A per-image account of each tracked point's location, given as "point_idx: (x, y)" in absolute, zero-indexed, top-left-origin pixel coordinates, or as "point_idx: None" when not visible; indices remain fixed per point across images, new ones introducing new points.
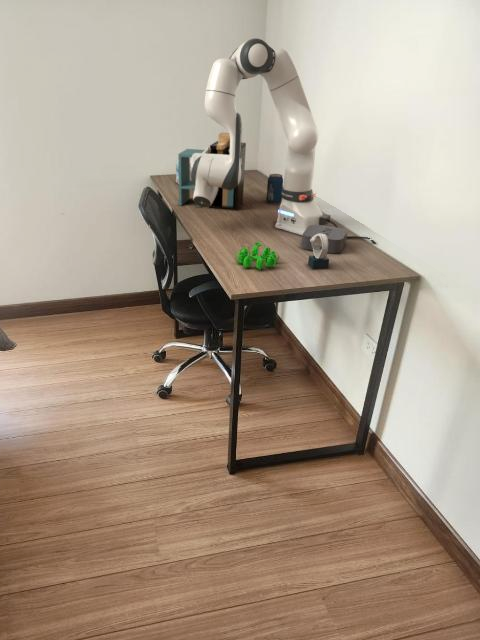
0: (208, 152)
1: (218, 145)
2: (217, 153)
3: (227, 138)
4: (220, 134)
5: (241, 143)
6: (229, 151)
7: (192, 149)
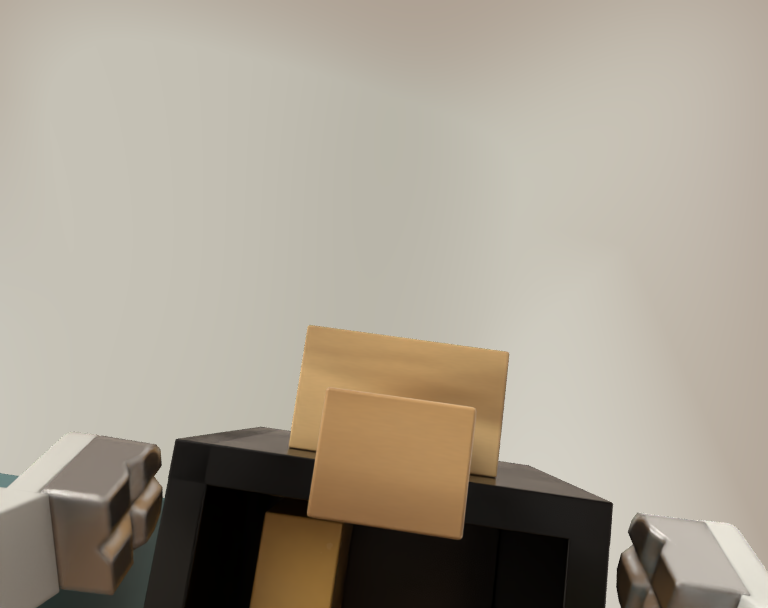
0: (69, 564)
1: (372, 410)
2: (263, 552)
3: (416, 381)
4: (331, 329)
5: (507, 465)
6: (702, 599)
7: (13, 478)
